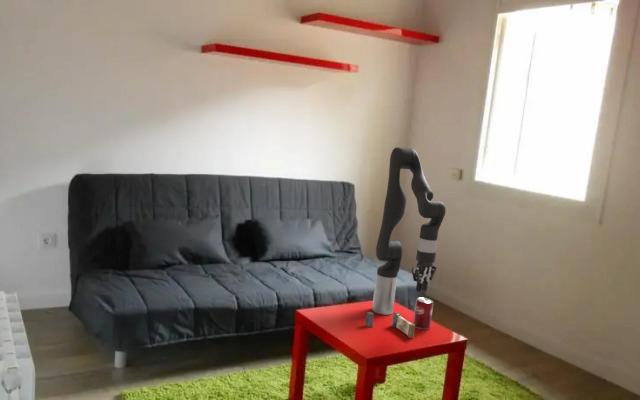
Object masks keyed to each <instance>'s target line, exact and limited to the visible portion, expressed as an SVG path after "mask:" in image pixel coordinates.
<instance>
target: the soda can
mask: <svg viewBox="0 0 640 400" xmlns="http://www.w3.org/2000/svg"><path fill="white" fill-rule="evenodd" d="M414 307H415V309H414V316H413V321H412V324H415V329H419V330H424V331H425V330H428V329H430V328H431V323H432V316H433V315H432V314H433V308H434V301H433V300H432V299H430V298H427V297H417V299H416V300H415V306H414Z"/></svg>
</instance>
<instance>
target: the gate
mask: <svg viewBox="0 0 640 400" xmlns="http://www.w3.org/2000/svg"><path fill="white" fill-rule="evenodd" d="M396 327H397V329H398V330H399V331H400V332H402V333H404V334H405V335H407V337H408V338H409V339H413V338H415V337H414V336H415V329H416V327H415V324H413V322H410V321H409V320H407V319H405V318H404V317H402V316H401V315H400V316H398V318H397V326H396Z"/></svg>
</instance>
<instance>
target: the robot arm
mask: <svg viewBox="0 0 640 400" xmlns="http://www.w3.org/2000/svg"><path fill="white" fill-rule="evenodd" d="M401 170H409V171H410V172H411V173H412V178H411V183H410V187H411V190H412V193H413V194H414V197H415V199H416V201H417V209H418V213H419V215H420V216H421V217H422V218H424V219H430V221H428V222H426V223H423V224H422V225H420V231H419V232H420V233H419V238H418V241H417V249H416V256H415V257H416V258H415V259H416V261H417V264H416V267H412V268H411V273H412V280H413V282H416V287H415V291H416V292H417V293H421V292H422V291H424V292H427V291H428V285H429V283H430V281H432V280H433V279H434V276H435V273H436V271H437V268H438V267H437V266H436V265H434V263H435V262H436V256H437V248H438V247H437V246H438V235H439V230H440V227H441V225H442V223H443V221H444V218H445V216H446V206H445V204H444V202H442V201H440V200H433V199H434V192H433V190H432V188H431V186H430V185H429V183H428V181H427V178H426V177H425V173H424V170H423V167H422V163H421V161H420V157H419V154H418V153H417V150H415V149H414V148H408V147H394V148H393V149H392V151H391V153H390V158H389V167H388V179H387V181H388V182H387V188H386V189H387V190H386V196H385V201H384V207H383V215H382V220H381V226H380V230H379V234H378V238H377V241H376V242H377V243H376V247H375V248H376V249H375V254H376V258H377V260H378V261H381V262H385V263H384V264H382V265H381V266H379V267H378V268H377V269H376V270H377V271H376V278H375V279H376V280H375V286H374V287H375V288H374V290H373V296H372V297H373V298H372V307H371V309H372V312H373V313H376V314H379V315H384V316H387V315H393V313H394V304H395V297H396V289H397V280H398V273H399V272H400V268H401V263H402V257H403V246H402V243H401V242H400V241H399V240H391V236H392V233H393V231H394V229H395V228H396V226H398V224H399V223H400V222H401V220H402V219H403V217H404V215H405V211H406V205H407V195H406V193H405V190H404V188H403V185H402V183H401Z"/></svg>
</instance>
